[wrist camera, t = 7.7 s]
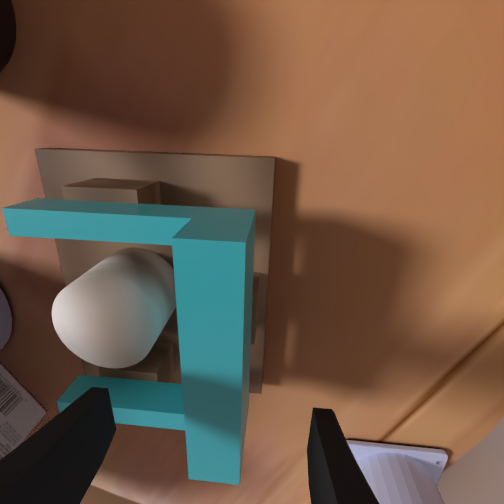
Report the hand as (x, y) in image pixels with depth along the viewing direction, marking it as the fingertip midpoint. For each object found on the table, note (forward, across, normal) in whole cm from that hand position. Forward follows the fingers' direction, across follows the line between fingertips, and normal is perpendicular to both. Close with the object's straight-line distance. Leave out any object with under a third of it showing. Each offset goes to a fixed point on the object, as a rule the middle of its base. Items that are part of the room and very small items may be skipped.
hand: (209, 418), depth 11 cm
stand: (+10, +5, 0) cm, 11 cm away
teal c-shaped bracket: (+6, +4, 0) cm, 7 cm away
